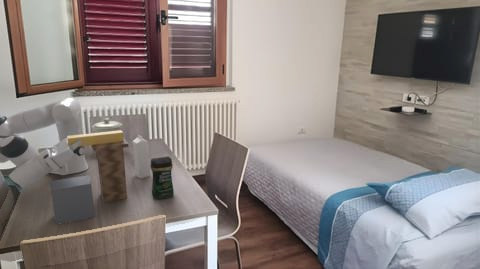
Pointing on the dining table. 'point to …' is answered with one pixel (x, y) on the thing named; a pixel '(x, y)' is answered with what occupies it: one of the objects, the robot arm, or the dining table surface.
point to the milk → (141, 157)
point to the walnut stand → (111, 170)
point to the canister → (106, 126)
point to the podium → (72, 199)
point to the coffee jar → (162, 177)
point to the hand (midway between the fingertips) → (80, 139)
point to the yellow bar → (97, 138)
